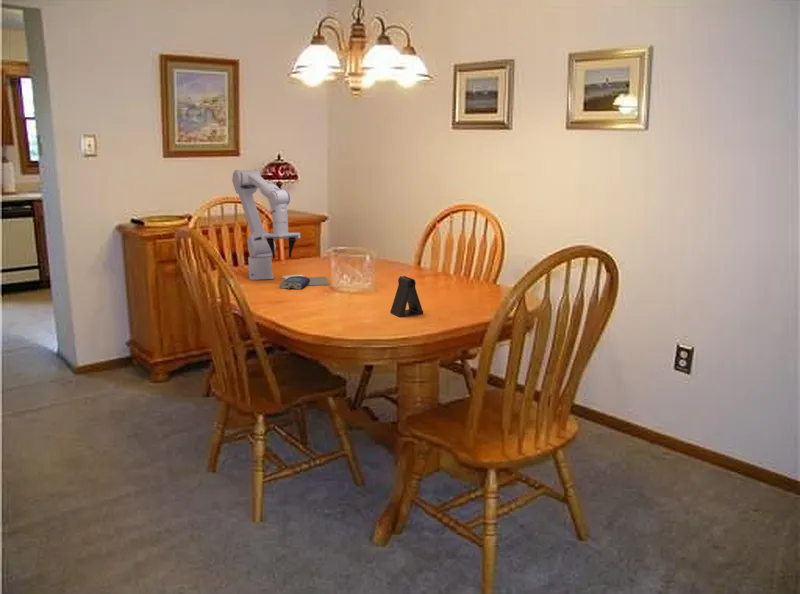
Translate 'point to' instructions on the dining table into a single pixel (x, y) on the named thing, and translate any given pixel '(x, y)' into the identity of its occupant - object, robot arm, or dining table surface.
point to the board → (318, 281)
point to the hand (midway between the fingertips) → (282, 257)
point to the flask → (295, 282)
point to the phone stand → (406, 298)
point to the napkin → (290, 276)
